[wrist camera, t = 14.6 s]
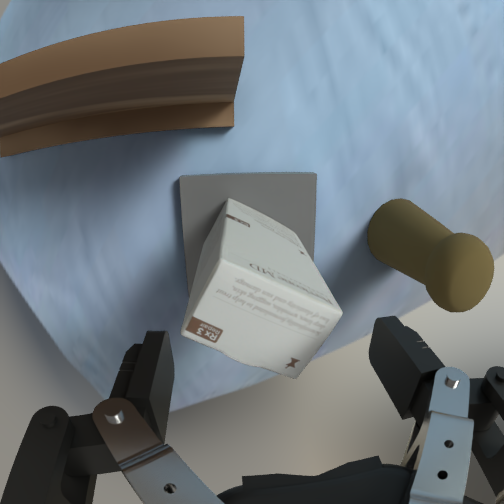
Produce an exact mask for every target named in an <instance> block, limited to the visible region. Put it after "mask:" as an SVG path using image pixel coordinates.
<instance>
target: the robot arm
mask: <svg viewBox="0 0 504 504" xmlns="http://www.w3.org/2000/svg"><path fill="white" fill-rule="evenodd" d="M369 359H370V363H371V365H372V366H373V368H374V370H375V372H376V374H377V375H378V377H379V379H380V381H381V382H382V384H383V386H384V388H385V389H386V391H387V393H388V394H389V396H390V398H391V400H392V402H393V403H394V405H395V407H396V409H397V410H398V412H399V414H400V416H401V418H402V419H407V418H411V417H414V418H415V422H414V424H413V427H412V430H411V434H410V437H409V440H408V444H407V447H406V450H405V453H404V456H403V459H402V462H401V464H400V466H399V465H393V464H382V463H381V461H380V458H379V456H374V457H370V458H366V459H362V460H358V461H353V462H348V463H346V464H344V465H341V466H339V467H337V468H334V469H332V470H330V471H327V472H325V473H322V474H320V475H317V476H302V475H288V474H269V475H255V476H242V482H243V485H241V486H237V487H234V488H231V489H228V490H226V491H224V492H222V493H220V494H218V495H217V496H216V495H215V494H214V493H213V492H212V491H211V490H210V489H209V488H208V487H207V486H206V485H205V484H204V483H203V482H202V481H201V480H200V479H199V478H198V476H197V475H196V474H195V473H194V472H193V471H192V470H191V469H190V468H189V467H188V466H187V464H186V463H185V462H184V461H183V460H182V459H181V458H180V456H179V455H178V454H177V453H176V452H175V451H174V450H173V448H172V447H170V446H169V445H168V444H166V445H164V442H165V435H166V428H167V421H168V414H169V408H170V401H171V395H172V388H173V382H174V362H173V356H172V351H171V345H170V340H169V334H168V332H167V331H147V333H146V336H145V338H144V341H143V344H134V345H133V346H132V347H131V348H130V349H129V350H128V351H127V352H126V354H125V356H124V359H123V363H122V364H121V367H120V371H119V372H118V375H117V377H116V380H115V383H114V386H113V389H112V391H111V394H110V397H109V399H106V400H104V401H102V402H100V403H99V404H98V405H97V406H96V407H95V409H94V411H93V413H91V414H86V415H80V416H71V417H69V416H68V414H67V413H66V411H65V410H64V409H62V408H60V407H57V406H48V407H44V408H42V409H40V410H39V411H37V412H36V413H35V414H34V415H33V417H32V419H31V421H30V423H29V426H28V428H27V430H26V433H25V435H24V438H23V440H22V443H21V445H20V448H19V451H18V453H17V456H16V458H15V461H14V464H13V466H12V469H11V472H10V475H9V478H8V481H7V484H6V487H5V490H4V493H3V496H2V499H1V502H0V504H92V502H93V496H94V490H95V484H96V479H97V474H103V473H111V472H117V471H122V473H123V474H124V476H125V478H126V479H127V480H128V482H129V484H130V485H131V487H132V488H133V490H134V491H135V492H136V494H137V495H138V497H139V498H140V500H141V501H142V502H143V504H483V503H480V502H478V501H475V500H473V499H471V498H469V497H467V496H464V492H465V486H466V481H467V475H468V468H469V462H470V455H471V450H472V452H473V453H474V455H475V457H476V459H477V461H478V463H479V465H480V466H481V468H482V470H483V472H484V474H485V476H486V478H487V480H488V482H489V484H490V486H491V487H492V489H493V491H494V493H495V496H496V504H504V435H503V434H502V432H501V430H500V429H499V427H498V426H497V424H496V423H495V420H496V418H497V416H498V415H499V414H500V416H501V417H502V419H503V420H504V368H503V367H498V366H495V367H492V368H490V369H489V370H488V371H487V373H486V375H485V377H484V378H475V379H469V378H468V376H467V375H466V374H465V373H464V372H463V371H461V370H460V369H457V368H454V367H445V366H444V365H443V363H442V362H441V361H440V359H439V358H438V357H437V356H436V355H435V353H434V352H433V351H432V350H431V349H430V348H428V345H427V344H426V343H425V341H424V342H423V339H422V338H421V337H420V336H419V334H418V333H417V332H415V331H414V330H412V329H411V328H409V327H407V326H404V325H403V324H402V323H401V322H400V321H399V319H398V318H397V317H396V316H389V317H381V318H377V319H376V321H375V324H374V329H373V334H372V338H371V343H370V347H369Z"/></svg>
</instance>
